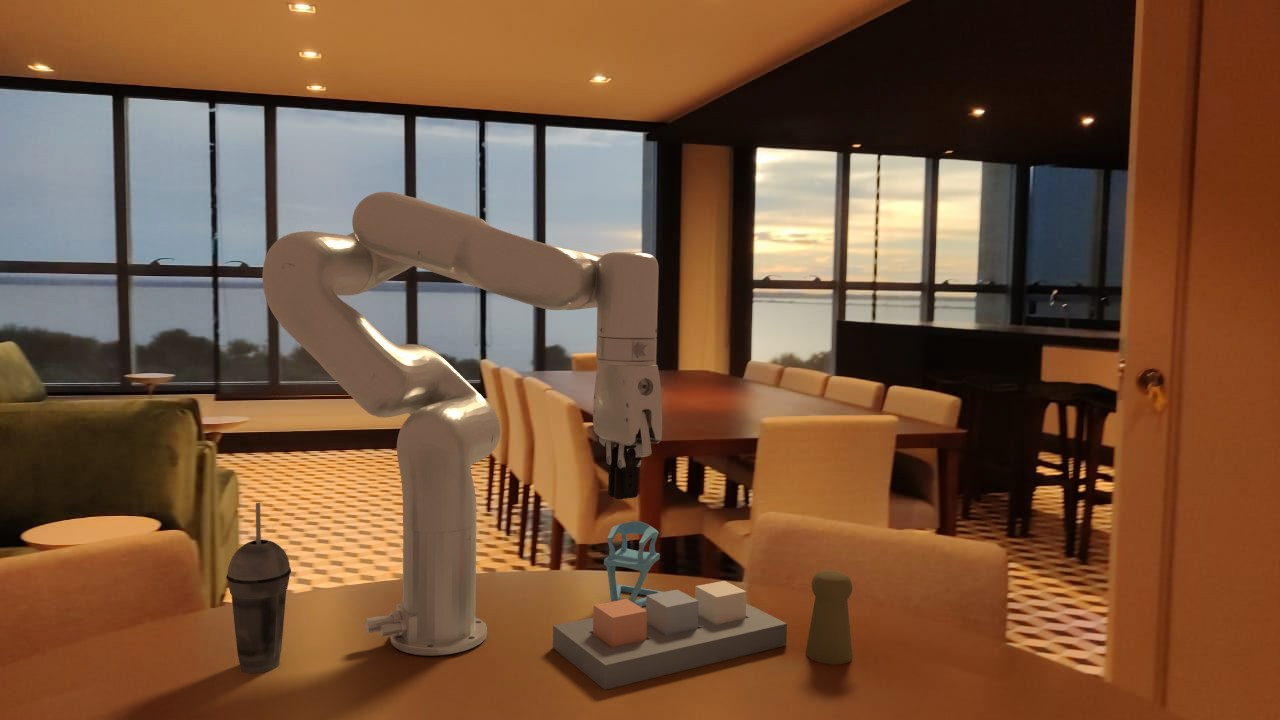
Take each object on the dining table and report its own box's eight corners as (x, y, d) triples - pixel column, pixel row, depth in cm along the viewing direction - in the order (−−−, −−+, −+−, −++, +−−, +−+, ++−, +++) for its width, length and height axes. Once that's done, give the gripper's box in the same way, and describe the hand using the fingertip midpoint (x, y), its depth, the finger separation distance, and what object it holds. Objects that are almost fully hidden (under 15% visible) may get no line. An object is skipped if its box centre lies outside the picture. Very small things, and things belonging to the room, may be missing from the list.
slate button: (665, 637, 113) (666, 607, 113) (645, 624, 117) (646, 595, 117) (697, 630, 115) (698, 600, 115) (676, 618, 120) (677, 589, 119)
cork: (853, 666, 112) (857, 582, 111) (805, 661, 113) (808, 578, 112) (851, 648, 117) (855, 567, 117) (805, 643, 119) (809, 564, 118)
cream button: (716, 626, 117) (716, 597, 117) (694, 614, 121) (695, 586, 121) (745, 619, 120) (746, 591, 119) (723, 608, 124) (724, 580, 124)
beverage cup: (228, 682, 103) (226, 515, 101) (225, 659, 109) (224, 501, 108) (294, 671, 106) (294, 509, 104) (288, 649, 112) (287, 496, 111)
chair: (596, 607, 131) (597, 528, 130) (619, 589, 138) (620, 515, 137) (644, 615, 128) (646, 535, 127) (664, 597, 135) (666, 521, 134)
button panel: (604, 689, 103) (605, 665, 103) (552, 647, 115) (553, 625, 115) (786, 645, 118) (787, 623, 118) (723, 611, 130) (724, 592, 129)
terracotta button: (612, 649, 109) (612, 617, 108) (592, 635, 113) (593, 605, 113) (646, 641, 111) (647, 611, 111) (626, 628, 115) (627, 598, 115)
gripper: (685, 356, 105) (681, 506, 106) (621, 347, 118) (618, 482, 119) (631, 357, 101) (628, 513, 102) (571, 348, 114) (569, 487, 115)
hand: (622, 496), depth 111 cm, fingers closed
